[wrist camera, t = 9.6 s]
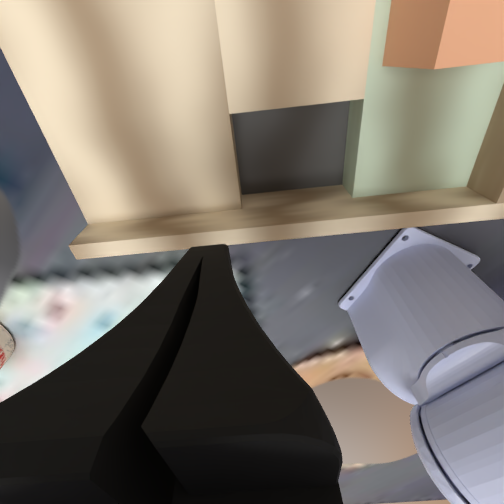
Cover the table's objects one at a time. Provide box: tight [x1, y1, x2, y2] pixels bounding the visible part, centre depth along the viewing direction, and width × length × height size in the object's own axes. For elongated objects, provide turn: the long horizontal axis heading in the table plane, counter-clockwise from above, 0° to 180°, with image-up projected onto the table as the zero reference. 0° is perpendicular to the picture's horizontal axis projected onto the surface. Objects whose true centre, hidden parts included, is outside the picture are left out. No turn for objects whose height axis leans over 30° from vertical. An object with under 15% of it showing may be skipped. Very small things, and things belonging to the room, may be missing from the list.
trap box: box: [0, 0, 504, 259], centre depth 12 cm, size 25×20×5 cm
